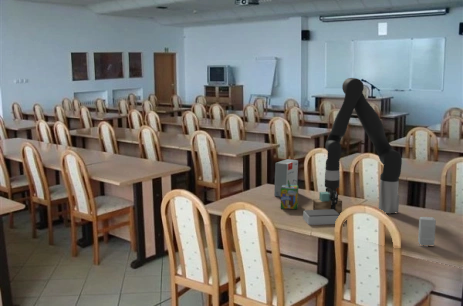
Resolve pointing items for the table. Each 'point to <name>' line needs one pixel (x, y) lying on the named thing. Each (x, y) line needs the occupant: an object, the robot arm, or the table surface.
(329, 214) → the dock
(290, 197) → the chalk box
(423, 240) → the skincare box
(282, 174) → the hard drive box
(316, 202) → the brown wooden block
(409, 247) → the table surface
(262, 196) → the table surface
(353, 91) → the robot arm
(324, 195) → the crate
